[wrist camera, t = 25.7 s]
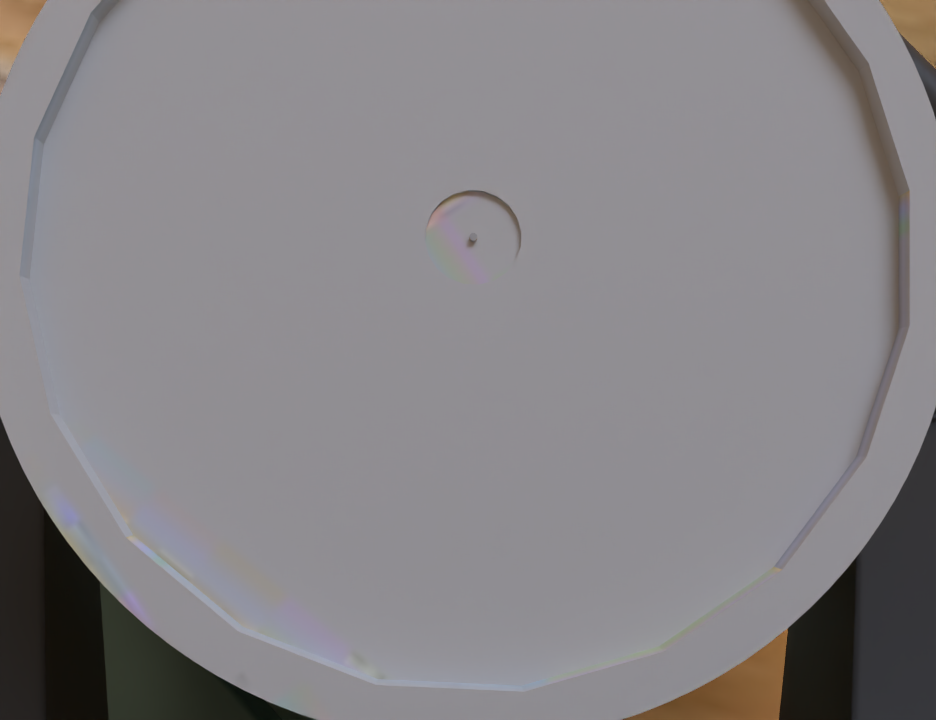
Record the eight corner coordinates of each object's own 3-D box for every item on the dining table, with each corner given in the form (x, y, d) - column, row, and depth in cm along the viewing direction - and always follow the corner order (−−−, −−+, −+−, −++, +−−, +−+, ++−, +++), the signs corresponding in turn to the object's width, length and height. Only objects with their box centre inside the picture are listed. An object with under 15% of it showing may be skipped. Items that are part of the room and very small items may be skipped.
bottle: (284, 259, 20) (-131, -252, 6) (580, 230, 21) (937, -327, 6) (310, 561, 20) (-84, 902, 5) (616, 527, 20) (1124, 750, 5)
